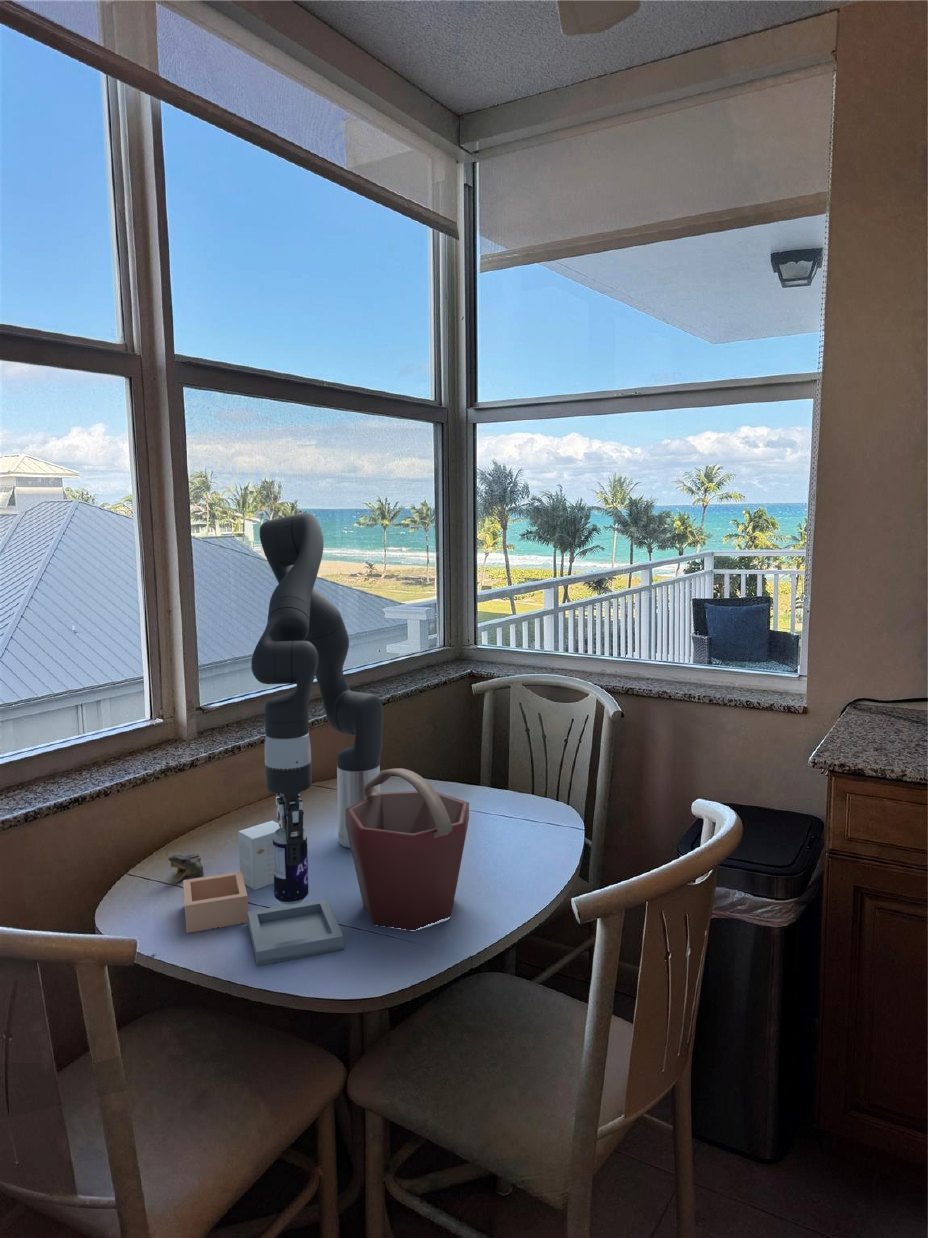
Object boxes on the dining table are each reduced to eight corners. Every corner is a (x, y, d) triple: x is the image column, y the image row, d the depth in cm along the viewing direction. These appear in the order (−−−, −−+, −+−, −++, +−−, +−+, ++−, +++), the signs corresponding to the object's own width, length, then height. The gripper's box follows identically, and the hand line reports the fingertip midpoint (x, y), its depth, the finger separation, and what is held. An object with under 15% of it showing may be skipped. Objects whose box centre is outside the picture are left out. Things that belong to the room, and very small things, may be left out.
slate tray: (327, 911, 149) (326, 898, 149) (343, 949, 136) (343, 936, 136) (247, 924, 144) (247, 912, 144) (257, 966, 131) (256, 952, 131)
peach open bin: (242, 896, 155) (241, 871, 154) (248, 922, 145) (247, 895, 144) (184, 906, 151) (183, 880, 150) (186, 933, 141) (185, 905, 141)
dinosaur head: (180, 894, 158) (181, 863, 156) (155, 883, 160) (155, 852, 159) (209, 874, 165) (210, 844, 163) (184, 863, 168) (185, 834, 166)
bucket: (338, 888, 158) (335, 762, 155) (446, 870, 166) (446, 750, 163) (370, 952, 135) (368, 806, 132) (494, 927, 143) (494, 789, 140)
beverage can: (300, 908, 136) (298, 839, 134) (268, 905, 137) (266, 836, 136) (313, 893, 141) (312, 826, 140) (283, 889, 143) (281, 823, 141)
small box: (274, 869, 166) (273, 819, 165) (290, 878, 163) (288, 827, 161) (239, 882, 161) (236, 830, 160) (253, 891, 157) (251, 838, 156)
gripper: (318, 770, 131) (320, 871, 133) (303, 746, 144) (305, 838, 146) (270, 775, 128) (273, 878, 130) (259, 750, 141) (262, 844, 144)
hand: (290, 856), depth 138 cm, fingers closed on beverage can, 5 cm apart
